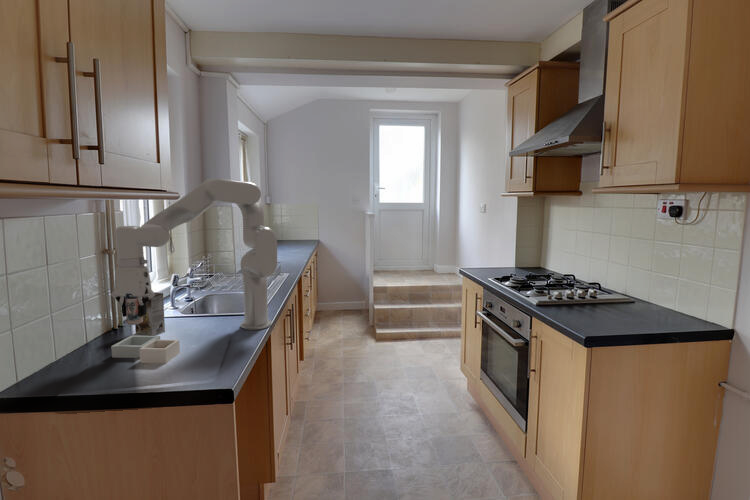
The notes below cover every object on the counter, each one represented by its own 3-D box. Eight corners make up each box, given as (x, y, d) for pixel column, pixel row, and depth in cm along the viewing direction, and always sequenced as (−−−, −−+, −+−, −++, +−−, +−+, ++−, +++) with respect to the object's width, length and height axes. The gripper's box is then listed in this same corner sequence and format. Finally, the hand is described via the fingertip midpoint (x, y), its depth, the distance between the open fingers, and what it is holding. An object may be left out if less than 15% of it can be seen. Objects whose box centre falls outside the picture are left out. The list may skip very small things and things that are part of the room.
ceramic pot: (155, 354, 133) (154, 339, 132) (179, 355, 133) (179, 339, 132) (140, 365, 125) (139, 348, 124) (166, 365, 125) (165, 349, 124)
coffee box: (134, 334, 153) (131, 294, 151) (148, 329, 159) (146, 290, 157) (152, 336, 150) (149, 296, 148) (166, 331, 157) (163, 292, 154)
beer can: (124, 326, 130) (122, 290, 128) (129, 321, 134) (126, 287, 133) (140, 324, 131) (138, 290, 129) (144, 320, 135) (142, 287, 134)
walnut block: (156, 356, 130) (155, 346, 130) (167, 355, 131) (167, 345, 130) (153, 360, 127) (152, 350, 126) (165, 359, 127) (164, 349, 127)
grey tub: (132, 347, 139) (131, 335, 139) (160, 348, 139) (160, 335, 138) (112, 359, 129) (111, 346, 128) (143, 360, 129) (142, 346, 128)
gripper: (162, 261, 134) (165, 313, 136) (113, 260, 134) (117, 312, 136) (149, 265, 126) (152, 319, 128) (97, 264, 126) (102, 318, 129)
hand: (134, 315), depth 132 cm, fingers closed on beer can, 4 cm apart
